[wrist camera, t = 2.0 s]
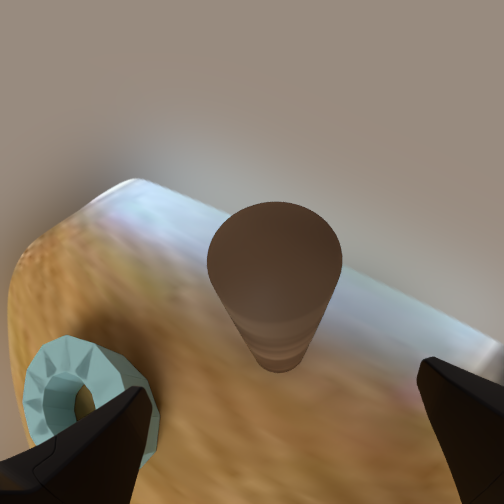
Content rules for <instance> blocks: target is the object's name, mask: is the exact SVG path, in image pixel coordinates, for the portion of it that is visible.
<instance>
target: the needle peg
mask: <svg viewBox="0 0 504 504" xmlns="http://www.w3.org/2000/svg"><path fill="white" fill-rule="evenodd" d="M207 269H208V275H209V278H210V281H211V283H212V285H213V287H214V289H215V291H216V293H217V295H218V296H219V298H220V300H221V302H222V303H223V305H224V307H225V309H226V310H227V312H228V314H229V315H230V317H231V319H232V321H233V322H234V324H235V326H236V327H237V329H238V331H239V332H240V334H241V336H242V337H243V339H244V341H245V342H246V344H247V346H248V347H249V349H250V351H251V352H252V354H253V356H254V357H255V359H256V360H257V362H258V363H259V365H260V366H261V367H263V368H264V369H266V370H268V371H270V372H274V373H283V372H287V371H290V370H292V369H293V368H295V367H296V366H297V365H298V364H299V363H300V362H301V360H302V358H303V356H304V354H305V352H306V350H307V348H308V346H309V344H310V342H311V340H312V338H313V336H314V334H315V332H316V330H317V327H318V325H319V323H320V321H321V319H322V317H323V314H324V312H325V310H326V308H327V305H328V303H329V301H330V299H331V296H332V294H333V292H334V289H335V287H336V285H337V282H338V280H339V277H340V274H341V269H342V252H341V247H340V243H339V240H338V238H337V236H336V234H335V232H334V231H333V230H332V228H331V227H330V226H329V224H328V223H327V222H326V221H325V220H324V219H323V218H322V217H320V216H319V215H317V214H316V213H314V212H313V211H311V210H309V209H307V208H305V207H302V206H299V205H296V204H292V203H286V202H266V203H260V204H256V205H253V206H250V207H247V208H245V209H242V210H240V211H239V212H237V213H235V214H234V215H232V216H231V217H230V218H228V219H227V220H226V221H225V222H224V223H223V224H222V225H221V226H220V228H219V229H218V230H217V232H216V233H215V235H214V237H213V239H212V241H211V243H210V246H209V250H208V255H207Z"/></svg>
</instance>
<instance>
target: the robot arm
mask: <svg viewBox="0 0 504 504" xmlns="http://www.w3.org/2000/svg"><path fill="white" fill-rule="evenodd" d="M417 386H418V389H419V391H420V394H421V397H422V400H423V403H424V406H425V409H426V412H427V415H428V418H429V420H430V423H431V425H432V427H433V430H434V432H435V434H436V436H437V439H438V441H439V443H440V446H441V448H442V451H443V453H444V456H445V458H446V461H447V463H448V466H449V468H450V471H451V473H452V476H453V479H454V482H455V484H456V487H457V490H458V493H459V496H460V499H461V502H462V504H504V386H502V385H499V384H497V383H494V382H492V381H489V380H487V379H485V378H482V377H480V376H478V375H475V374H473V373H471V372H468V371H466V370H464V369H461V368H459V367H457V366H454V365H452V364H450V363H447V362H445V361H443V360H440V359H438V358H436V357H429V358H425V359H423V360H422V361H421V364H420V368H419V371H418V375H417ZM152 410H153V407H152V403H151V400H150V398H149V396H148V394H147V392H146V389H145V388H144V387H142V386H131V387H129V388H128V389H126V390H125V391H123V392H122V393H120V394H119V395H117V396H116V397H114V398H113V399H111V400H110V401H108V402H107V403H105V404H104V405H102V406H101V407H99V408H98V409H96V410H95V411H93V412H91V413H90V414H88V415H87V416H85V417H84V418H82V419H80V420H79V421H77V422H76V423H74V424H72V425H71V426H69V427H68V428H66V429H64V430H63V431H61V432H60V433H58V434H57V435H54V436H53V437H51V438H50V439H48V440H46V441H44V442H43V443H41V444H39V445H37V446H35V447H33V448H31V449H29V450H27V451H25V452H22V453H20V454H18V455H15V456H13V457H11V458H8V459H6V460H3V461H0V504H130V500H131V497H132V493H133V489H134V486H135V482H136V479H137V475H138V472H139V468H140V465H141V461H142V458H143V455H144V451H145V447H146V443H147V438H148V432H149V426H150V421H151V415H152Z"/></svg>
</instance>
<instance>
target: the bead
mask: <svg viewBox="0 0 504 504" xmlns="http://www.w3.org/2000/svg"><path fill="white" fill-rule="evenodd" d="M84 384H85V385H86V387H87V388H88V389H89V390H90V392H91V393H92V396H93V400H94V403H95V407H96V409H98V408H99V407H101V406H102V405H104V404H105V403H107V402H108V401H110V400H111V399H113V398H114V397H116V396H117V395H119V394H120V393H122V392H123V391H125V390H126V389H128V388H129V387H131V386H142V387H144V388H145V389H146V392H147V394H148V396H149V398H150V400H151V403H152V407H153V410H152V415H151V421H150V426H149V432H148V438H147V443H146V447H145V451H144V455H143V458H142V461H141V465H140V468H141V467H142V466H143V465H144V464H145V463H146V462H147V461H148V460H149V458H150V457H151V456H152V455H153V454H154V453H155V452H156V447H157V438H158V429H159V421H160V414H159V412H158V409H157V406H156V404H155V401H154V398H153V395H152V392H151V389H150V387H149V384H148V381H147V379H146V378H145V377H144V376H143V375H142V374H141V373H140V372H139V371H138V370H137V369H136V368H135V367H134V366H133V365H132V364H131V363H130V362H129V361H128V360H127V359H126V358H125V357H124V356H123V355H121V354H119V353H116V352H114V351H111V350H109V349H106V348H104V347H102V346H99V345H97V344H95V343H92V342H88V341H85V340H82V339H78V338H75V337H72V336H69V335H65V336H62V337H60V338H58V339H56V340H53V341H51V342H49V343H46V344H44V345H42V347H41V348H40V350H39V351H38V353H37V354H36V356H35V357H34V359H33V361H32V362H31V364H30V365H29V367H28V369H27V372H26V379H25V386H24V393H23V406H24V411H25V416H26V420H27V424H28V428H29V432H30V436H31V438H32V439H33V441H34V442H35V444H36V446H37V445H39V444H41V443H43V442H44V441H46V440H48V439H50V438H51V437H53V436H54V435H57V434H58V433H60V432H61V431H63V430H64V429H66V428H68V427H69V426H71V425H72V424H74V423H76V422H77V420H76V416H75V413H74V405H75V398H76V394H77V393H78V391H79V390H80V389H81V387H82V386H83V385H84ZM140 468H139V469H140Z"/></svg>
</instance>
